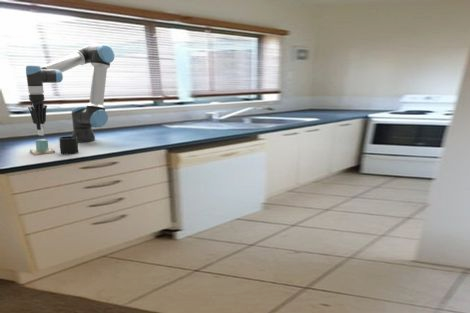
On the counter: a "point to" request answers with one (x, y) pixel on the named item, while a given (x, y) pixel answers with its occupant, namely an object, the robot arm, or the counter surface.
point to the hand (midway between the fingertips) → (41, 135)
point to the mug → (68, 145)
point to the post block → (42, 151)
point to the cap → (42, 145)
